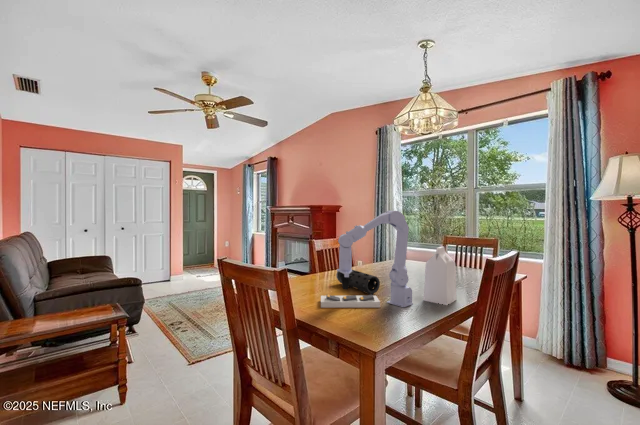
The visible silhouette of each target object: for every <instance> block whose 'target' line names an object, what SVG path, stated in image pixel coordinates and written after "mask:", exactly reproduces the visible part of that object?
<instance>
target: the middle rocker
mask: <svg viewBox="0 0 640 425" xmlns="http://www.w3.org/2000/svg"><path fill="white" fill-rule="evenodd" d="M342 296H343V300H344V301H351V300H357V298H356V296H357V295H356V294H354V295H352V294H351V295H342Z"/></svg>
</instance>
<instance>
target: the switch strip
mask: <svg viewBox="0 0 640 425" xmlns="http://www.w3.org/2000/svg"><path fill="white" fill-rule="evenodd" d="M334 296H335V297H339V301H332V300H329V299H326V295H320V308H381V300H380V299H379V298H378V296H377V295H373V297H374V299H372V300H368V301H361V300H360V297H364V296H365V295H356V298H357V300H351V301H344V300H343V296H344V295H334Z"/></svg>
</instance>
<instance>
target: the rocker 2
mask: <svg viewBox="0 0 640 425" xmlns="http://www.w3.org/2000/svg"><path fill="white" fill-rule="evenodd" d="M363 296H364V297H360V300H361V301H368V300H372V299H374V297H373V296H374V294H373V295H372V294H368V295H363Z"/></svg>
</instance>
